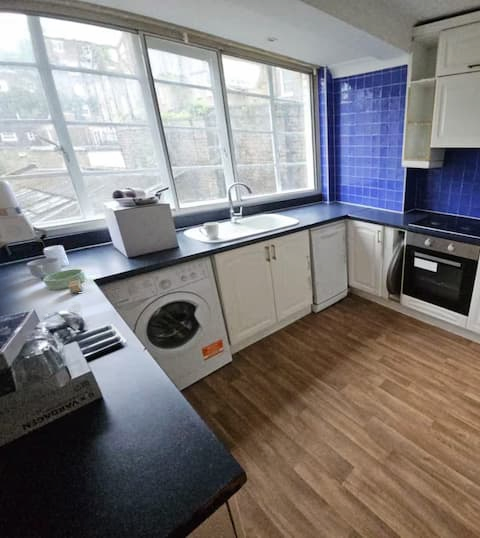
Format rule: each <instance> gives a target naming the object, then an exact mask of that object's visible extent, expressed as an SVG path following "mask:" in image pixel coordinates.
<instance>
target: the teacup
mask: <svg viewBox="0 0 480 538" xmlns="http://www.w3.org/2000/svg"><path fill="white" fill-rule="evenodd" d="M26 265H27V267H28V269H29V272H30V273H31V275H32V276H33V277H35V278H39V279H44V278H45V277H46V276H48V275H51V274H54V273H57V272H61V271H63V267H61V264H60V261H59V258H46V257H45V258H39V259H34V260H31V261H28V262H27V263H26Z"/></svg>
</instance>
